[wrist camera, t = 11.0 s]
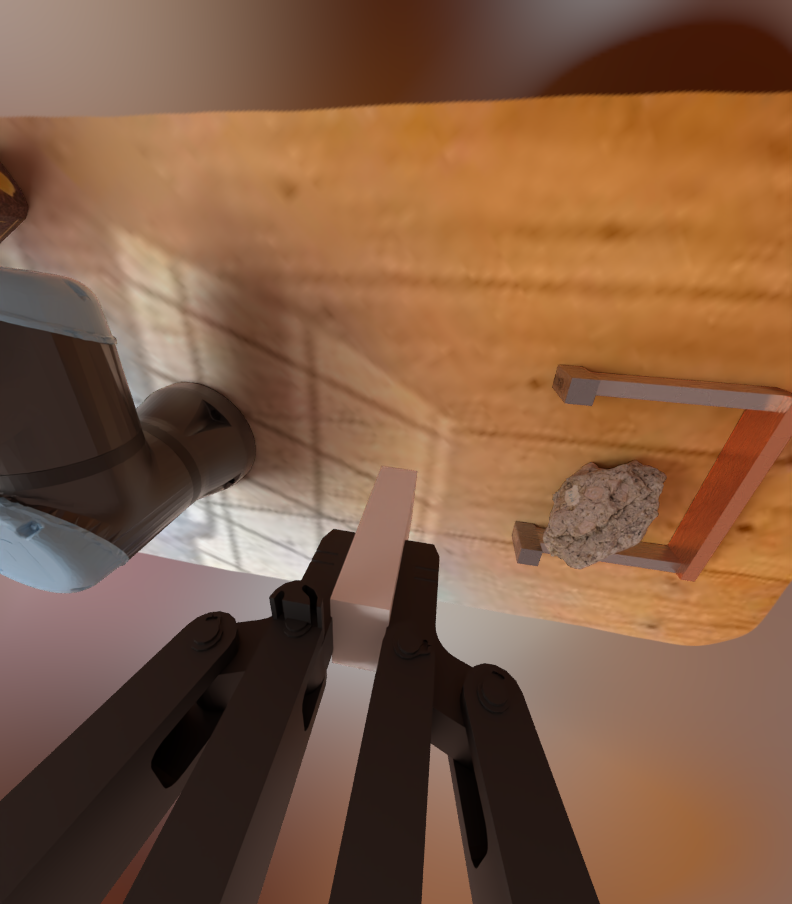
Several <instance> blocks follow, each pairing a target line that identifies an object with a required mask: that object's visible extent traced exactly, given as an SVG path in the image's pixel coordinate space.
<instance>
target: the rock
mask: <svg viewBox="0 0 792 904" xmlns="http://www.w3.org/2000/svg"><path fill="white" fill-rule="evenodd" d="M666 478H667V476H666V475H665V474H664V473H663V472H661V471H659V470H658V469H655V468H652V467H651V466H648V465H642V464H641V463H639V462H638V461H637V460H634V461H631V462H629V463H627V464H623V465H620V466H616V467H615V468H612V469H602V468H598V466H597V465H596V464H595V463H591V462H590V463H588V464H586V465H584V466H583V467H582V468H581V469H580V470H578V471H577V472H576V473H575V474H573V475H572V476H570V477H569V478H567V479H566V481H565V482H564V483H563V484H562V486H561V488H560V489H559V490H558V492H556V493H555V494H553V501H554V506H553V509H552V511H551V513H550V517H549V524H548V527H547V528H546V530H545V531H544V534H543V541H544V543H545V545H546V547H547V549H548V551H549V552H550V554H551V556H558V557H559V558H560V559H563V560H564V561H565V562H566V563H567V565H568V566H570V567H573V568H575V569H583V568H584V567H587V566H590V565H592V564H595V563H597V562H599V561H601V560H604V559H605V558H607V557H608V556H609V555H612V554H615V553H617V552H621V551H623V550H625V549H628V548H630V547H633V546H635V545H636V544H638V543H639V542H640V541H641V540H642V539H643V537H644V535H645V534H646V531H647V528H648V526H649V525H650V524H651V522H652V521H653V520H654V519H655V518H656V517H658V511H657V510H658V508H659V501H658V499H659V495H660V494H661V492H662V489H663V486H664V485H663V483H664V482H665V480H666Z"/></svg>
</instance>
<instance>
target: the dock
mask: <svg viewBox="0 0 792 904" xmlns="http://www.w3.org/2000/svg"><path fill="white" fill-rule="evenodd" d="M552 388H553V389H554V390H555V392H556V393H557V394H558V395H559V397H560V398H561V399H562V401H563V402H564V403H567V404H577V405H588V406H592V405H593V402H594V399H595V396H596V395H599V396H610V397H620V398H631V399H642V400H653V401H664V402H675V403H686V404H697V405H708V406H718V407H729V408H740V409H745V411H744V413H743V415H742V416H741V418H740V420H739V422H738V423H737V425H736V427H735V429H734V430H733V432H732V434H731V436H730V437H729V439H728V441H727V443H726V444H725V446H724V448H723V450H722V451H721V453H720V455H719V457H718V458H717V460H716V462H715V464H714V465H713V467H712V469H711V471H710V472H709V474H708V476H707V478H706V479H705V481H704V483H703V485H702V486H701V488H700V490H699V492H698V493H697V495H696V497H695V499H694V500H693V502H692V504H691V506H690V507H689V509H688V511H687V513H686V514H685V516H684V518H683V520H682V521H681V523H680V525H679V527H678V528H677V530H676V532H675V534H674V535H673V537H672V539H671V541H670V542H669V544H668V546H667V545H660V544H652V543H645V542H639V543H638V544H636V545H635V546H633V547H630V548H628V549H625V550H623V551H621V552H617V553H615V554H612V555H609V556H608V557H607V558H605V559H604V560H601V562H608V563H614V564H621V565H627V566H634V567H641V568H647V569H654V570H661V571H667V572H674V573H676V574H677V575H678V577H679V578H680V579H681V580H687V581H694V582H695V580H696V579H697V577H698V576H699V574H700V573H701V571H702V570H703V568H704V567H705V565H706V564H707V562H708V561H709V559H710V558H711V556H712V555H713V553H714V552H715V550H716V549H717V547H718V546H719V544H720V543H721V541H722V540H723V538H724V537H725V535H726V534H727V532H728V531H729V529H730V528H731V526H732V525H733V523H734V522H735V520H736V519H737V517H738V516H739V514H740V513H741V511H742V510H743V508H744V507H745V505H746V504H747V502H748V501H749V499H750V498H751V496H752V495H753V493H754V492H755V490H756V489H757V487H758V486H759V484H760V483H761V481H762V480H763V478H764V477H765V475H766V474H767V472H768V471H769V469H770V468H771V466H772V465H773V463H774V462H775V460H776V459H777V457H778V456H779V454H780V453H781V451H782V450H783V448H784V447H785V445H786V444H787V442H788V441H789V439H790V438H791V436H792V393H791V392H788V391H785V390H782V389H780V388H777V387H766V386H754V385H742V384H731V383H719V382H707V381H695V380H683V379H671V378H659V377H647V376H635V375H623V374H611V373H599V372H589V371H588V370H587V369H585V368H584V367H581V366H569V365H558V367H557V371H556V375H555V378H554V382H553V386H552ZM545 530H546V528H540V527H535V524H531V523H524V522H517V521H516V522H515V525H514V529H513V533H512V539H513V544H514V549H515V554H516V560H517V563H520V564H526V565H533V566H538V564H539V561H540V558H541V555H542V553H548V554H550V552H549V551H548V549H547V547H546V545H545V543H544V541H543V534H544V531H545Z"/></svg>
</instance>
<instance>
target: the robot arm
mask: <svg viewBox="0 0 792 904" xmlns="http://www.w3.org/2000/svg"><path fill="white" fill-rule="evenodd" d="M115 344H117V340H116V338H115V337H114V336H112V334H111V331H110V329H109V326H108V323H107V321H106V318H105V316H104V313H103V311H102V308H101V305H100V303H99V301H98V299H97V297H96V296H95V294H94V293H93V292H92V291H91V290H90V289H89V288H88V287H86V286H85V285H84V284H82V283H80V282H78V281H76V280H74V279H72V278H69V277H65V276H60V275H55V274H49V273H42V272H36V271H29V270H22V269H15V268H8V267H0V574H2V575H4V576H6V577H8V578H10V579H13V580H15V581H17V582H20V583H22V584H25V585H27V586H30V587H33V588H37V589H41V590H44V591H49V592H55V593H75V592H79V591H83V590H86V589H89V588H91V587H92V586H94V585H96V584H97V583H98V582H100V581H101V580H102V579H104V578H105V577H106V576H108V575H109V574H110V573H112V572H113V571H114V570H115V569H117V568H118V567H119V566H123V565H125V564H126V562H128V560H129V559H131V558H132V557H133V556H134V555H135V554H136V553H137V552H138V551H140V550H141V549H142V548H143V547H144V546H145V545H146V544H147V543H149V542H150V541H151V540H152V539H153V538H154V537H155V536H156V535H158V534H159V533H160V532H161V531H162V530H163V529H164V528H165V527H167V526H168V525H169V524H170V523H171V522H172V521H173V520H174V519H175V518H177V517H178V516H179V515H180V514H181V513H182V512H183V511H184V510H186V509H187V508H188V507H189V506H190V505H191V504H193V503H194V502H195V501H196V500H198V499H201V498H204V497H206V496H209V495H211V494H214V493H217V492H219V491H222V490H224V489H227V488H229V487H231V486H233V485H234V484H236V483H237V482H238V481H239V480H241V479H242V478H243V477H244V476H245V475H246V474H247V473H248V472H249V470H250V469H251V467H252V465H253V463H254V459H255V442H254V437H253V434H252V431H251V429H250V427H249V425H248V423H247V421H246V420H245V418H244V417H243V415H242V414H241V413H240V411H239V410H238V409H237V408H236V407H235V406H234V405H233V404H232V403H231V402H230V401H229V400H228V399H226V398H225V397H224V396H222V395H221V394H219V393H218V392H216V391H214V390H212V389H210V388H208V387H206V386H203V385H200V384H196V383H189V382H181V383H175V384H172V385H169V386H166V387H164V388H161V389H159V390H157V391H155V392H153V393H152V394H150V395H149V396H148V397H147V398H146V399H145V401H144V402H143V403H142V404H141V405H140V406H139V407H137V408H135V405H134V402H133V399H132V395H131V392H130V389H129V386H128V383H127V380H126V377H125V374H124V371H123V368H122V364H121V361H120V358H119V355H118V352H117V349H116V346H115ZM416 478H417V471H414V470H407V469H400V468H393V467H386V466H381V469H380V472H379V474H378V477H377V479H376V482H375V484H374V487H373V490H372V492H371V495H370V497H369V500H368V503H367V505H366V508H365V510H364V513H363V515H362V518H361V521H360V523H359V526H358V528H357V531H356V533H355V532H349V531H343V530H337V529H333V530H332V531H330V532H329V533H328V534H327V535H326V536H325V537H323V538H322V540H321V542H320V544H319V546H318V548H317V551H316V552H315V554H314V556H313V558H312V561H311V562H310V564H309V566H308V568H307V570H306V572H305V574H304V576H303V578H302V580H295V581H292V582H288V583H285V584H283V585H282V586H280V587H279V588H277V589H276V590H275V591H274V592H273V593H272V595H271V596H270V597H269V599H270V605H271V611H272V616H271V617H269V618H266V619H262V620H255V621H247V622H238V623H236V621H235V618H233V617H232V616H231V615H230V614H229V613H224V612H221V611H218V612H210V613H207V614H204V615H202V616H200V617H197V618H196V619H195V620H193V621H192V622H191V623H189V624H188V625H187V626H186V627H185V628H183V629H182V630H181V632H179V633H178V634H177V635H176V636H175V637H174V638H173V639H172V640H171V641H170V642H169V643H168V644H167V645H166V646H164V647H163V648H162V649H161V650H160V651H159V652H158V653H157V654H156V655H155V656H154V657H153V658H152V659H151V660H149V662H147V663H146V664H145V665H144V666H143V667H142V668H141V669H140V670H139V671H138V672H137V673H136V674H135V675H134V676H133V677H131V678H130V679H129V680H128V681H127V682H126V683H125V684H124V685H123V686H122V687H121V688H120V689H119V690H118V691H117V692H116V693H115V694H113V695H112V696H111V697H110V698H109V699H108V700H107V701H106V702H105V703H104V704H103V705H102V706H101V707H100V708H99V709H98V710H96V711H95V712H94V713H93V714H92V715H91V716H90V717H89V718H88V719H87V720H86V721H85V722H84V723H83V724H82V725H80V726H79V727H78V728H77V729H76V730H75V731H74V732H73V733H72V734H71V735H70V736H69V737H68V738H67V739H66V740H65V741H64V742H63V743H61V744H60V745H59V746H58V747H57V748H56V749H55V750H54V751H53V752H52V753H51V754H50V755H49V756H48V757H46V759H44V760H43V761H42V762H41V763H40V764H39V765H38V766H37V767H36V768H35V769H34V770H33V771H32V772H31V773H29V774H28V775H27V776H26V777H25V778H24V779H23V780H22V781H21V782H20V783H19V784H18V785H17V786H16V787H15V788H14V789H13V790H11V791H10V792H9V793H8V794H7V795H6V796H5V797H4V798H3V799H2V800H1V801H0V904H100V903H101V902H102V901H103V899H104V898H105V897H106V895H107V894H108V892H109V891H110V890H111V888H112V887H113V886H114V884H115V883H116V881H117V880H118V879H119V877H120V876H121V874H122V873H123V871H124V870H125V869H126V868H127V866H128V865H129V864H130V862H131V860H132V859H133V858H134V857H135V855H136V854H137V853H138V851H139V850H140V848H141V847H142V846H143V844H144V843H145V841H146V840H147V839H148V837H149V836H150V835H151V833H152V832H153V830H154V829H155V828H156V826H157V825H158V824H159V822H160V821H161V819H162V818H163V817H164V815H165V814H166V813H167V811H168V810H169V808H170V807H171V806H172V804H173V803H174V801H175V800H176V799H177V797H178V796H179V795H180V796H179V798H178V800H177V802H176V803H175V805H174V807H173V809H172V811H171V813H170V815H169V817H168V819H167V820H166V822H165V824H164V826H163V828H162V830H161V832H160V834H159V836H158V838H157V839H156V841H155V843H154V845H153V847H152V849H151V851H150V853H149V855H148V857H147V858H146V860H145V862H144V864H143V866H142V868H141V870H140V872H139V874H138V876H137V877H136V879H135V881H134V883H133V885H132V887H131V889H130V891H129V893H128V894H127V896H126V898H125V900H124V902H123V904H257V903H258V899H259V896H260V893H261V890H262V887H263V883H264V880H265V877H266V874H267V870H268V867H269V864H270V861H271V858H272V855H273V851H274V848H275V845H276V842H277V839H278V836H279V832H280V829H281V826H282V823H283V820H284V817H285V813H286V810H287V807H288V804H289V801H290V797H291V794H292V791H293V788H294V785H295V782H296V778H297V775H298V772H299V769H300V766H301V762H302V759H303V756H304V753H305V750H306V747H307V743H308V740H309V737H310V734H311V731H312V727H313V724H314V721H315V718H316V715H317V712H318V708H319V705H320V702H321V699H322V696H323V692H324V689H325V686H326V678H327V668H328V665H329V661H330V659H331V656H332V663H336V664H340V665H345V666H350V667H355V668H359V669H364V670H369V671H374V672H376V674H375V679H374V684H373V689H372V694H371V699H370V704H369V709H368V713H367V718H366V723H365V728H364V733H363V738H362V743H361V748H360V753H359V757H358V763H357V767H356V773H355V777H354V782H353V787H352V792H351V797H350V801H349V807H348V812H347V816H346V821H345V826H344V831H343V836H342V841H341V846H340V851H339V855H338V860H337V865H336V870H335V875H334V880H333V885H332V890H331V895H330V899H329V904H421V900H422V883H423V865H424V847H425V829H426V813H427V796H428V777H429V761H430V744H433V745H434V746H436V747H437V748H439V749H440V750H441V751H443V752H444V753H446V754H447V755H448V759H449V765H450V771H451V777H452V783H453V789H454V795H455V800H456V806H457V812H458V819H459V824H460V829H461V836H462V842H463V848H464V854H465V860H466V866H467V872H468V878H469V884H470V889H471V895H472V901H473V904H600V903H599V900H598V897H597V895H596V892H595V889H594V886H593V884H592V881H591V879H590V876H589V873H588V870H587V868H586V865H585V862H584V859H583V856H582V854H581V851H580V848H579V846H578V843H577V840H576V838H575V835H574V832H573V829H572V827H571V824H570V821H569V818H568V816H567V813H566V811H565V808H564V805H563V802H562V799H561V797H560V794H559V791H558V788H557V786H556V783H555V780H554V778H553V775H552V772H551V769H550V767H549V764H548V761H547V759H546V756H545V753H544V750H543V748H542V745H541V743H540V740H539V737H538V734H537V732H536V729H535V726H534V723H533V721H532V718H531V715H530V712H529V710H528V707H527V704H526V701H525V699H524V696H523V693H522V691H521V689H520V688H519V686H518V684H517V682H516V680H514V678H512V676H511V675H510V674H509V673H508V672H507V671H505V670H504V669H502V668H500V667H498V666H496V665H492V664H486V663H484V664H480V665H476V666H474V667H471V666H469V665H468V664H465V663H464V662H462V661H460V660H459V659H457V658H455V657H454V656H452V655H451V654H450V653H448V651H447V650H446V649H445V648H444V647H443V646H442V644H441V643H440V641H439V639H438V636H437V633H436V627H435V626H436V625H435V623H436V607H437V590H438V572H439V555H438V552H437V550H436V548H435V546H434V545H433V544H427V543H421V542H415V541H409V540H408V538H409V532H410V527H411V520H412V512H413V503H414V495H415V487H416ZM180 793H181V794H180Z"/></svg>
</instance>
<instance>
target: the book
mask: <svg viewBox="0 0 792 904" xmlns="http://www.w3.org/2000/svg"><path fill="white" fill-rule="evenodd" d="M27 209H28V205H27V203H26V201H25V198H24V196H23V194H22V192H21V190H20V188H19V187H18V186H17V184H16V183H15V181H14V180H13V179H12V177H11V176H10V175H9V173H8V172H7V170H6V169H5V168H4V166H3V165H2V164H1V162H0V243H1V242H2V241H3V240H4V239H5V238H6V237H7V236H8V235H9V234H10V233H11V232H12V231H13V230H14V229H15V228H16V227H17V226H18V225H19V224H20V223H21V222H22V221H23V220H24V219H25V218H26V214H27Z"/></svg>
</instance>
